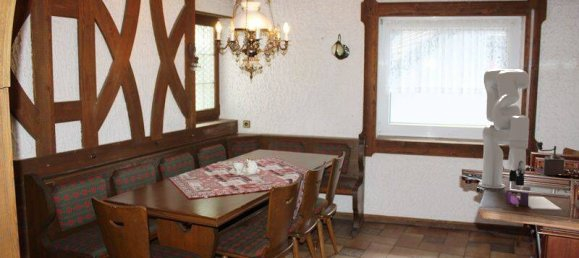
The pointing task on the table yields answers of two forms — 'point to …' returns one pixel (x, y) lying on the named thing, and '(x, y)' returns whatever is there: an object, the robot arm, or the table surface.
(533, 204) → the mat
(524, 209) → the table surface
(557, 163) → the pepper mill
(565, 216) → the table surface
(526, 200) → the purple block
